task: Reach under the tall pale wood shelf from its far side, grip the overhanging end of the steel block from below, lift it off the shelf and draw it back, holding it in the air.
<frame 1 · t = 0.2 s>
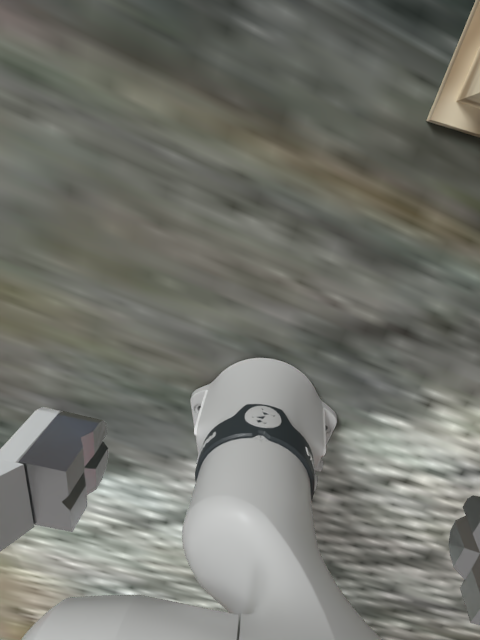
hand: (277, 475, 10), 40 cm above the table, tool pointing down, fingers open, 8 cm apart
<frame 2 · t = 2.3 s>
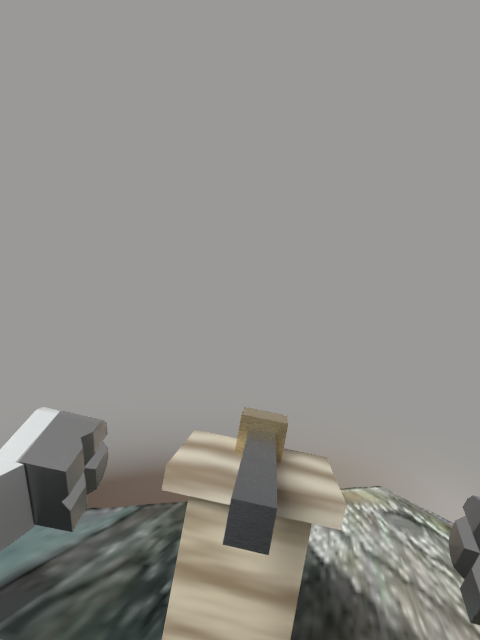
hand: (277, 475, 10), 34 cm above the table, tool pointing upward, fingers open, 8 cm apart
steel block: (254, 479, 33), point 26 cm above the table, touching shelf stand
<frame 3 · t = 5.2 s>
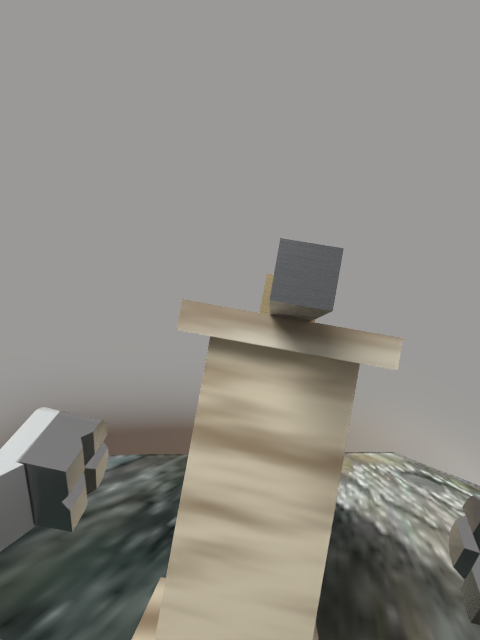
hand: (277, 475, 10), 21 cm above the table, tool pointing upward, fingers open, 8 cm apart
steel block: (289, 319, 28), point 26 cm above the table, touching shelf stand
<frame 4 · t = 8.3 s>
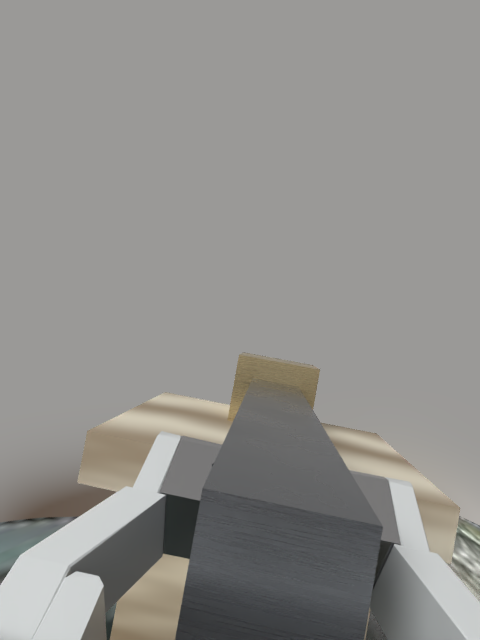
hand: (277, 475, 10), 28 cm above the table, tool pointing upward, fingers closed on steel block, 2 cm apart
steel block: (266, 460, 17), point 26 cm above the table, touching gripper, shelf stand
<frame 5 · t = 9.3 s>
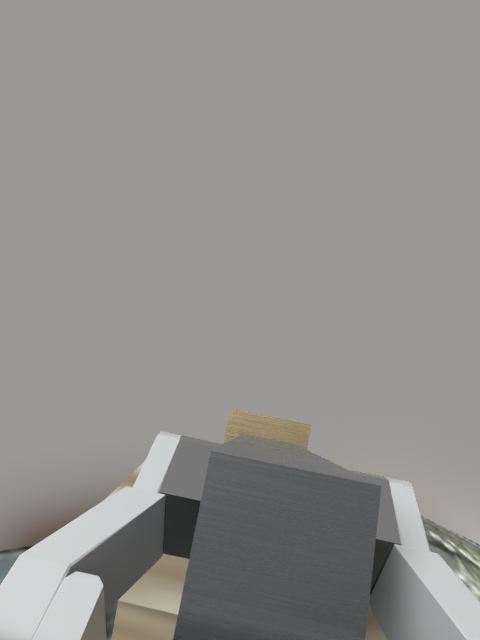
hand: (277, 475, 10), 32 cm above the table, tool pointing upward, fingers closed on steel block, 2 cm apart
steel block: (259, 507, 16), point 28 cm above the table, tilted 12°, touching gripper
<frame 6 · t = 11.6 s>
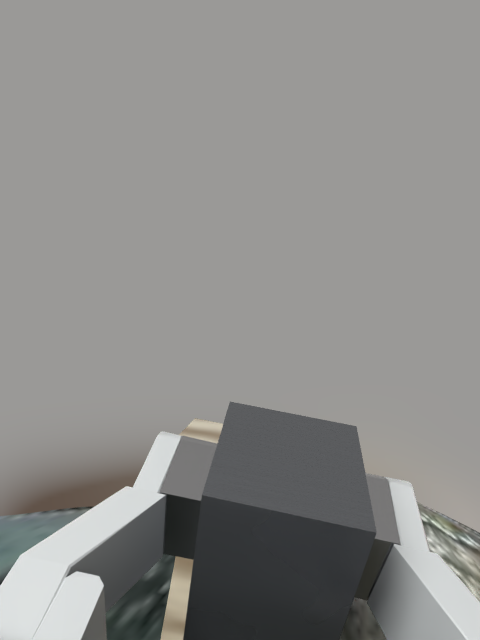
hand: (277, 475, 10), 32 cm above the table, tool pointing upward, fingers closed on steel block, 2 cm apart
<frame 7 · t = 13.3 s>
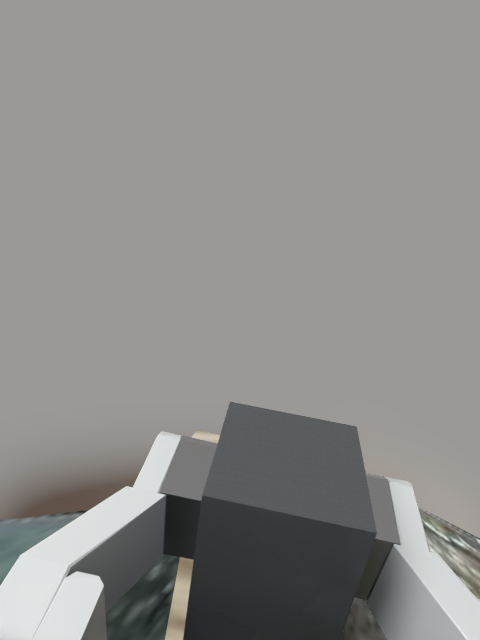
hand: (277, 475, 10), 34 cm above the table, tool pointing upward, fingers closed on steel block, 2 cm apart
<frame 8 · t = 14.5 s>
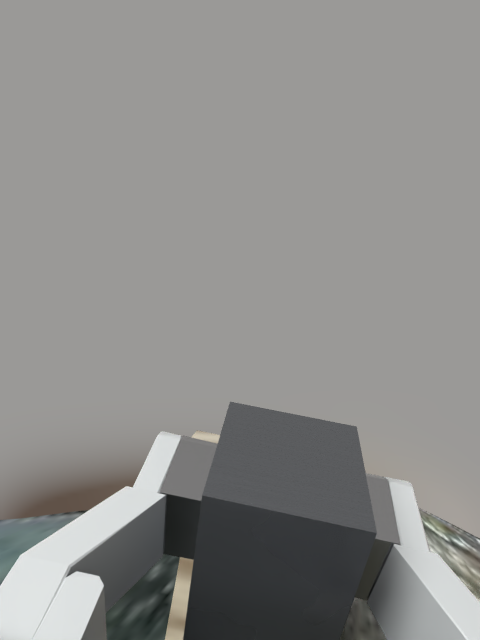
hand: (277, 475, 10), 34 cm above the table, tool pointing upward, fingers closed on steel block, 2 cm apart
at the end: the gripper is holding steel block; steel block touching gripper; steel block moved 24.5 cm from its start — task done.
